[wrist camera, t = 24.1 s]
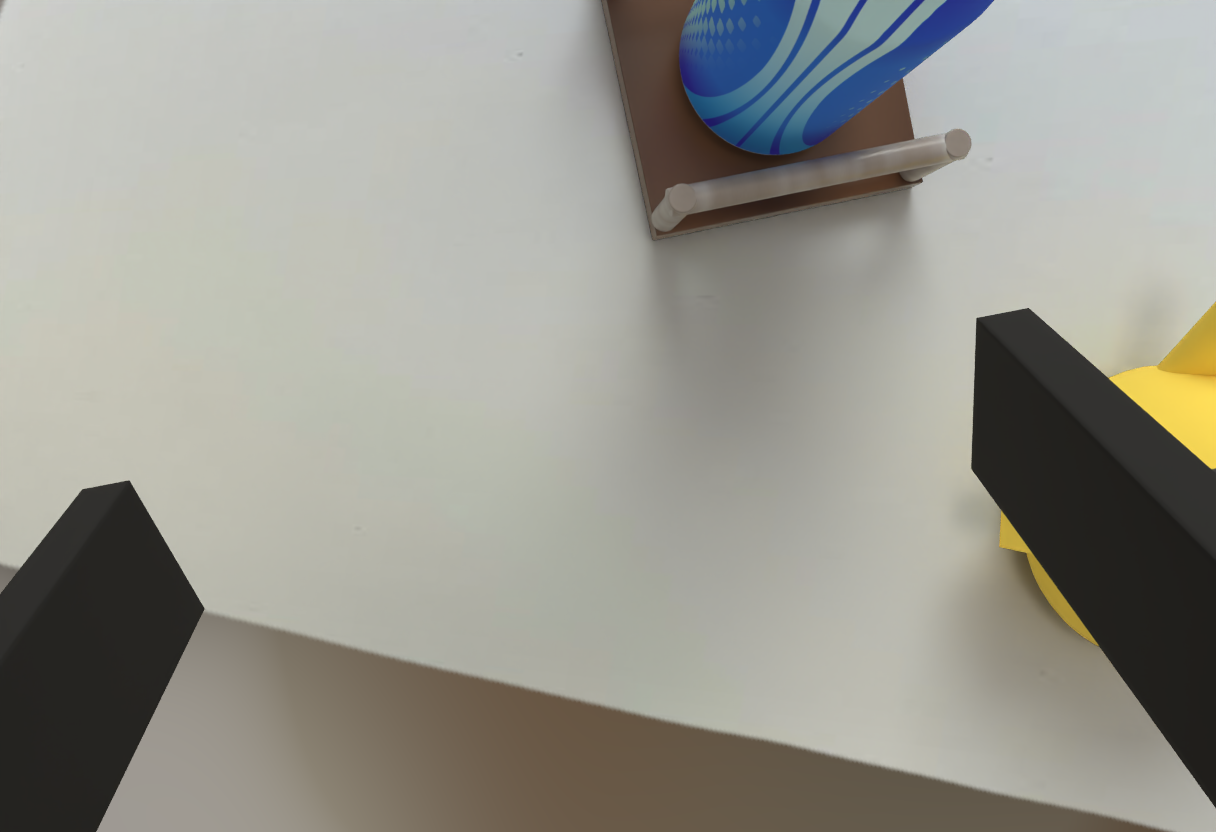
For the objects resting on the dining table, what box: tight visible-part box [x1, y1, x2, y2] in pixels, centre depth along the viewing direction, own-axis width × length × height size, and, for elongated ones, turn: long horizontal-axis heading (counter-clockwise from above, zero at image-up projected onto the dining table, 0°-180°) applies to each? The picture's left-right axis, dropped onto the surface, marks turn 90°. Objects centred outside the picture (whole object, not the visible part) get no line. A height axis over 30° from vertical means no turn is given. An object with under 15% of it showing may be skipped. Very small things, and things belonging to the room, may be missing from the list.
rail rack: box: [601, 0, 971, 240], centre depth 39 cm, size 13×13×6 cm
